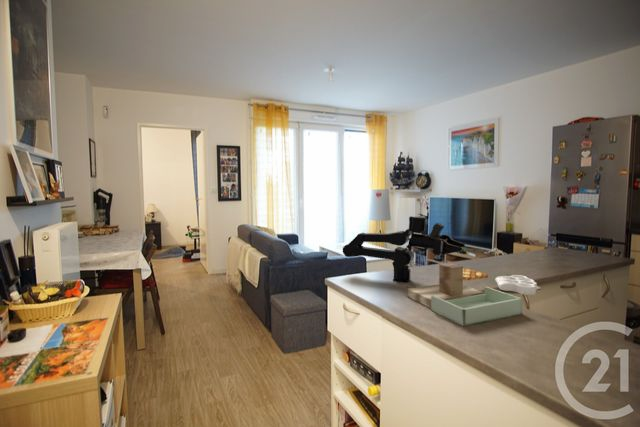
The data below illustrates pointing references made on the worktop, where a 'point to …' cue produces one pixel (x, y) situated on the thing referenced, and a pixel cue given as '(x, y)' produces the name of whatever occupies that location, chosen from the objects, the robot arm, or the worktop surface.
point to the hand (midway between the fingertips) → (463, 247)
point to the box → (478, 307)
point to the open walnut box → (451, 279)
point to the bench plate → (437, 294)
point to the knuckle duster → (517, 284)
